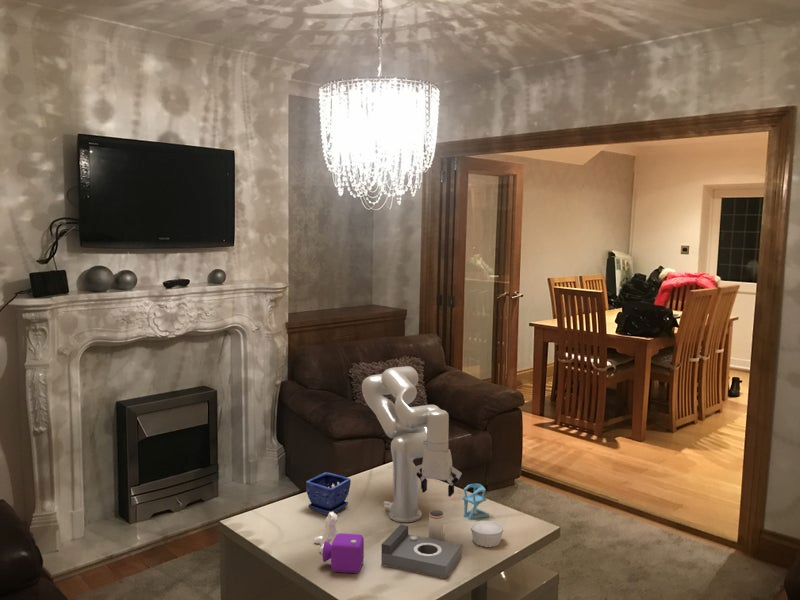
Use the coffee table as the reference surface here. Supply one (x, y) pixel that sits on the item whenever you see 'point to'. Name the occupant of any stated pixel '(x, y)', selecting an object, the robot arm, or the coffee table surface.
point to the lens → (436, 525)
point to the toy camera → (345, 552)
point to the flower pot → (328, 492)
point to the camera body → (419, 553)
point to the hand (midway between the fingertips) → (437, 493)
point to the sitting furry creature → (328, 530)
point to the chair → (474, 501)
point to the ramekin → (486, 533)
